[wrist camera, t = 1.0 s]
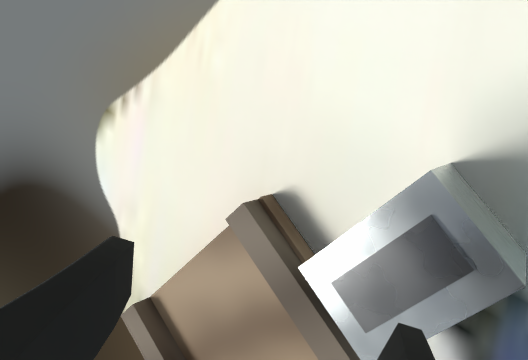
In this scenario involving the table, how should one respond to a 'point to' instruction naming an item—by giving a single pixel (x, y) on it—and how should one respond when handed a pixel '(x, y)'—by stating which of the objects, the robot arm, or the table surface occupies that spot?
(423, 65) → the table surface
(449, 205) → the block
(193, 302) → the board
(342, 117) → the table surface
